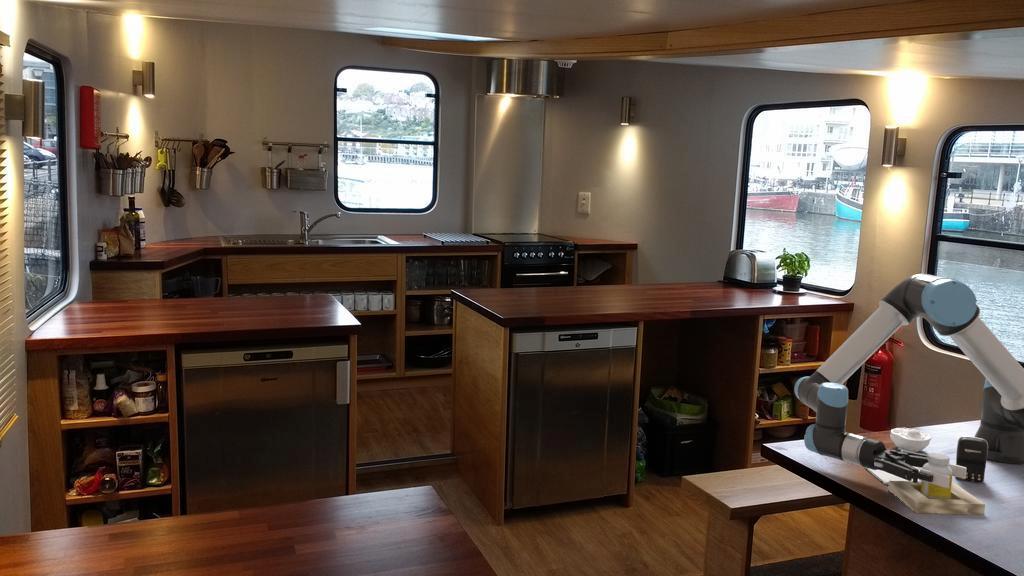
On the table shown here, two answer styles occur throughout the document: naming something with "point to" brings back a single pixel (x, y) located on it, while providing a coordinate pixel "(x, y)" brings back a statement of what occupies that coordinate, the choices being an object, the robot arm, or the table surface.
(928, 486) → the pill bottle
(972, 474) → the battery charger
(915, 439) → the cell model
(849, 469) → the table surface
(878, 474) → the pad
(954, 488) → the holder
